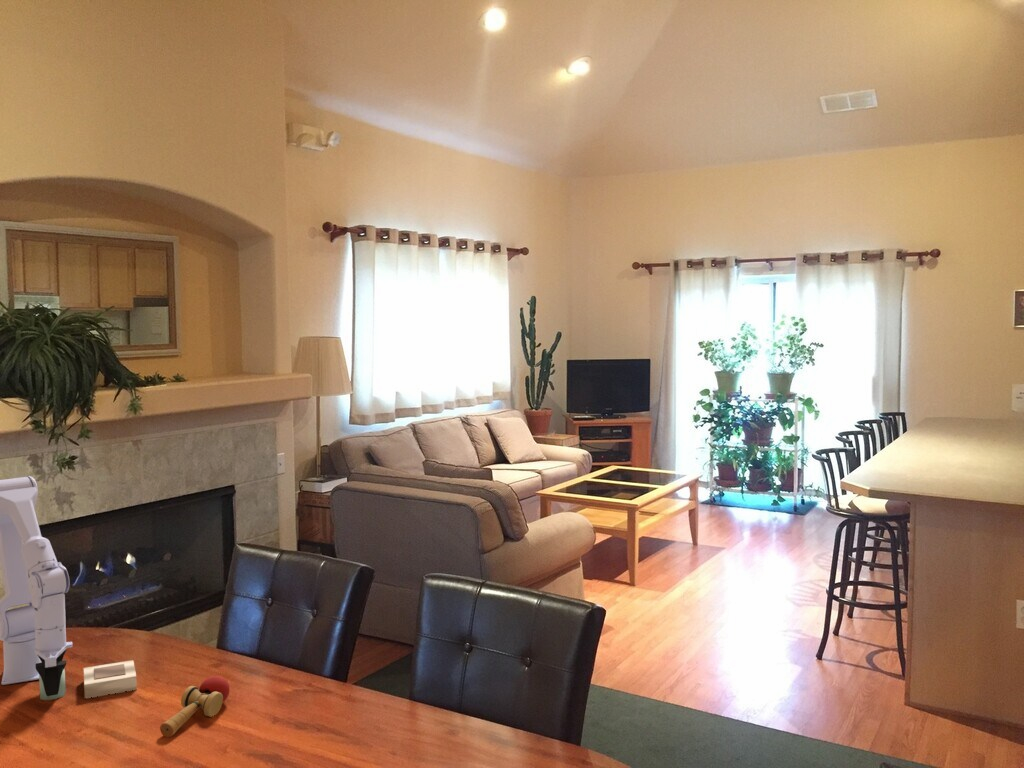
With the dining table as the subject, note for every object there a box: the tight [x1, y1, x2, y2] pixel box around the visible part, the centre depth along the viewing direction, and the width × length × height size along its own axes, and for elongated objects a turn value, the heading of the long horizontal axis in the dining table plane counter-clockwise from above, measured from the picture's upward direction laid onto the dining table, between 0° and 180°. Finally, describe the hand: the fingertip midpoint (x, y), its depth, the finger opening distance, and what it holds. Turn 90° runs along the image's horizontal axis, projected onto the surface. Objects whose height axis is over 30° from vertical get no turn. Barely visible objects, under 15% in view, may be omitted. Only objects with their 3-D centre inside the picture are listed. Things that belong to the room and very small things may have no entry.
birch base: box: [83, 659, 138, 699], centre depth 190 cm, size 10×10×3 cm
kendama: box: [159, 675, 231, 738], centre depth 175 cm, size 8×6×18 cm
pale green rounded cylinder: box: [38, 668, 66, 701], centre depth 185 cm, size 5×5×5 cm
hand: (52, 688), depth 185 cm, fingers open, 6 cm apart
